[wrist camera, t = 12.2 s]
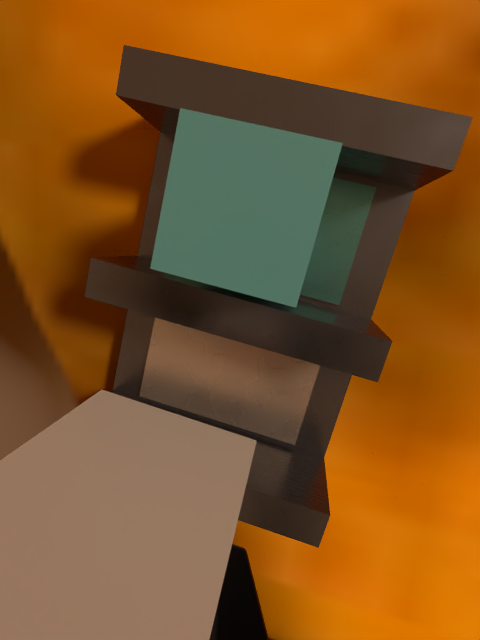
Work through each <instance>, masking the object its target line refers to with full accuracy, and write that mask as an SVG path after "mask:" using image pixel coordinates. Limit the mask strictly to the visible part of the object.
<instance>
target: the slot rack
mask: <svg viewBox="0 0 480 640" xmlns="http://www.w3.org/2000/svg"><path fill="white" fill-rule="evenodd" d="M116 96H118V97H119V98H120V99H121V100H123V101H124V102H125V103H126V104H127V105H129V106H130V107H131V108H132V109H133V110H135V111H136V112H137V113H138V114H140V115H141V116H142V117H143V118H144V119H146V120H147V121H148V122H149V123H150V124H152V125H153V126H154V127H155V128H157V129H158V130H159V131H160V137H159V142H158V148H157V153H156V159H155V164H154V169H153V175H152V180H151V186H150V191H149V197H148V202H147V207H146V213H145V218H144V224H143V229H142V234H141V240H140V245H139V251H138V256H118V257H96V258H90V265H89V271H88V278H87V284H86V290H85V297H86V298H89V299H93V300H96V301H100V302H103V303H107V304H110V305H113V306H117V307H120V308H124V309H127V316H126V321H125V327H124V332H123V337H122V343H121V348H120V354H119V359H118V365H117V370H116V375H115V381H114V386H113V391H111V393H114V394H117V395H120V396H123V397H126V398H129V399H132V400H135V401H138V402H141V403H144V404H147V405H150V406H153V407H156V408H159V409H162V410H165V411H168V412H172V413H175V414H178V415H181V416H184V417H187V418H190V419H193V420H196V421H199V422H202V423H205V424H208V425H211V426H214V427H217V428H220V429H223V430H226V431H229V432H232V433H235V434H238V435H241V436H244V437H247V438H250V439H253V440H256V441H257V442H256V446H255V450H254V454H253V459H252V463H251V467H250V471H249V475H248V480H247V484H246V488H245V492H244V496H243V501H242V505H241V509H240V513H239V517H238V520H240V521H243V522H245V523H248V524H251V525H254V526H257V527H260V528H263V529H266V530H269V531H272V532H275V533H277V534H280V535H283V536H286V537H289V538H292V539H295V540H298V541H301V542H304V543H307V544H309V545H312V546H315V547H318V548H319V545H320V542H321V539H322V536H323V534H324V531H325V528H326V525H327V522H328V520H329V517H330V510H329V500H328V491H327V481H326V472H325V462H324V456H325V453H326V450H327V447H328V444H329V441H330V438H331V435H332V432H333V429H334V426H335V423H336V420H337V417H338V414H339V411H340V408H341V406H342V403H343V400H344V397H345V394H346V391H347V388H348V385H349V382H350V379H351V376H352V375H355V376H358V377H362V378H365V379H369V380H372V381H376V382H378V380H379V377H380V374H381V371H382V369H383V366H384V363H385V360H386V357H387V355H388V352H389V349H390V346H391V343H392V340H391V339H390V338H389V337H388V336H387V335H386V334H385V333H384V332H383V331H382V330H381V329H380V328H379V327H378V326H377V325H376V324H375V323H374V322H373V321H372V320H371V317H372V314H373V311H374V308H375V305H376V302H377V299H378V296H379V294H380V291H381V288H382V285H383V282H384V279H385V276H386V273H387V270H388V267H389V264H390V261H391V258H392V255H393V252H394V249H395V246H396V243H397V240H398V237H399V235H400V232H401V229H402V226H403V223H404V220H405V217H406V214H407V211H408V208H409V205H410V202H411V199H412V196H413V193H414V191H415V190H417V189H419V188H420V187H422V186H424V185H426V184H428V183H430V182H432V181H434V180H436V179H438V178H440V177H442V176H444V175H446V174H448V173H450V172H452V171H453V170H454V167H455V165H456V162H457V159H458V156H459V153H460V151H461V148H462V145H463V142H464V139H465V137H466V134H467V131H468V128H469V125H470V123H471V120H472V117H468V116H464V115H459V114H454V113H449V112H444V111H439V110H435V109H430V108H425V107H420V106H415V105H411V104H406V103H401V102H396V101H391V100H386V99H382V98H377V97H372V96H367V95H362V94H358V93H353V92H348V91H343V90H338V89H333V88H329V87H324V86H319V85H314V84H309V83H304V82H300V81H295V80H290V79H285V78H280V77H276V76H271V75H266V74H261V73H256V72H251V71H247V70H242V69H237V68H232V67H227V66H222V65H218V64H213V63H208V62H203V61H198V60H194V59H189V58H184V57H179V56H174V55H169V54H165V53H160V52H155V51H150V50H145V49H141V48H136V47H131V46H126V45H124V47H123V54H122V60H121V66H120V73H119V79H118V86H117V92H116ZM180 108H182V109H187V110H192V111H196V112H201V113H206V114H210V115H215V116H220V117H224V118H229V119H233V120H238V121H243V122H247V123H252V124H257V125H261V126H266V127H270V128H275V129H280V130H284V131H289V132H294V133H298V134H303V135H308V136H312V137H317V138H321V139H326V140H331V141H335V142H340V143H343V144H342V148H341V151H340V155H339V158H338V162H337V165H336V169H335V172H334V176H333V179H332V183H331V186H330V190H329V193H328V197H327V201H326V204H325V208H324V211H323V215H322V218H321V222H320V225H319V229H318V232H317V236H316V239H315V243H314V246H313V250H312V253H311V257H310V261H309V264H308V268H307V271H306V275H305V278H304V282H303V285H302V289H301V292H300V296H299V299H298V303H297V306H296V308H295V307H291V306H288V305H284V304H280V303H276V302H273V301H269V300H265V299H262V298H258V297H254V296H250V295H247V294H243V293H239V292H235V291H232V290H228V289H224V288H221V287H217V286H213V285H209V284H206V283H202V282H198V281H195V280H191V279H187V278H183V277H180V276H176V275H172V274H168V273H165V272H161V271H157V270H154V269H150V267H151V262H152V256H153V251H154V246H155V240H156V235H157V230H158V224H159V219H160V214H161V208H162V203H163V198H164V192H165V187H166V182H167V176H168V171H169V166H170V160H171V155H172V150H173V144H174V139H175V134H176V128H177V123H178V118H179V112H180Z"/></svg>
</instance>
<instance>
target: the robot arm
mask: <svg viewBox="0 0 480 640" xmlns="http://www.w3.org/2000/svg"><path fill="white" fill-rule="evenodd" d="M209 640H269V638H268V634H267V630H266V626H265V622H264V618H263V614H262V610H261V606H260V602H259V599H258V595H257V591H256V587H255V583H254V579H253V575H252V571H251V567H250V563H249V559H248V555H247V552H246V550H245V549H244V548H242V547H239V546H236V545H233V544H232V547H231V551H230V555H229V559H228V563H227V568H226V572H225V576H224V580H223V584H222V589H221V593H220V597H219V601H218V605H217V610H216V614H215V618H214V622H213V626H212V631H211V635H210V639H209Z"/></svg>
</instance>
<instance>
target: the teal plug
mask: <svg viewBox="0 0 480 640" xmlns="http://www.w3.org/2000/svg"><path fill="white" fill-rule="evenodd" d="M342 144H343V143H340V142H335V141H331V140H326V139H321V138H317V137H312V136H308V135H303V134H298V133H294V132H289V131H284V130H280V129H275V128H270V127H266V126H261V125H257V124H252V123H247V122H243V121H238V120H233V119H229V118H224V117H220V116H215V115H210V114H206V113H201V112H196V111H192V110H187V109H182V108H180V112H179V118H178V123H177V128H176V134H175V139H174V144H173V150H172V155H171V160H170V166H169V171H168V176H167V182H166V187H165V192H164V198H163V203H162V208H161V214H160V219H159V224H158V230H157V235H156V240H155V246H154V251H153V256H152V262H151V267H150V269H154V270H157V271H161V272H165V273H168V274H172V275H176V276H180V277H183V278H187V279H191V280H195V281H198V282H202V283H206V284H209V285H213V286H217V287H221V288H224V289H228V290H232V291H235V292H239V293H243V294H247V295H250V296H254V297H258V298H262V299H265V300H269V301H273V302H276V303H280V304H284V305H288V306H291V307H295V308H296V306H297V303H298V299H299V296H300V292H301V289H302V285H303V282H304V278H305V275H306V271H307V268H308V264H309V261H310V257H311V253H312V250H313V246H314V243H315V239H316V236H317V232H318V229H319V225H320V222H321V218H322V215H323V211H324V208H325V204H326V201H327V197H328V193H329V190H330V186H331V183H332V179H333V176H334V172H335V169H336V165H337V162H338V158H339V155H340V151H341V148H342Z"/></svg>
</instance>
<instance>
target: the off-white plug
mask: <svg viewBox="0 0 480 640" xmlns="http://www.w3.org/2000/svg"><path fill="white" fill-rule="evenodd" d="M256 442H257V441H256V440H253V439H250V438H247V437H244V436H241V435H238V434H235V433H232V432H229V431H226V430H223V429H220V428H217V427H214V426H211V425H208V424H205V423H202V422H199V421H196V420H193V419H190V418H187V417H184V416H181V415H178V414H175V413H172V412H168V411H165V410H162V409H159V408H156V407H153V406H150V405H147V404H144V403H141V402H138V401H135V400H132V399H129V398H126V397H123V396H120V395H117V394H114V393H111V392H108V391H105V390H101V391H99V392H98V393H96V394H95V395H93V396H92V397H90V398H89V399H88V400H86V401H85V402H83V403H82V404H80V405H79V406H77V407H76V408H75V409H73V410H72V411H70V412H69V413H67V414H66V415H65V416H63V417H62V418H60V419H59V420H58V421H56V422H54V423H53V424H52V425H50V426H49V427H47V428H46V429H45V430H43V431H42V432H40V433H39V434H37V435H36V436H34V437H33V438H31V439H30V440H29V441H27V442H26V443H24V444H23V445H21V446H20V447H19V448H17V449H16V450H14V451H13V452H11V453H10V454H8V455H7V456H6V457H4V458H3V459H1V460H0V640H209V639H210V635H211V631H212V626H213V622H214V618H215V614H216V610H217V605H218V601H219V597H220V593H221V589H222V584H223V580H224V576H225V572H226V568H227V563H228V559H229V555H230V551H231V547H232V542H233V538H234V534H235V530H236V526H237V522H238V517H239V513H240V509H241V505H242V501H243V496H244V492H245V488H246V484H247V480H248V475H249V471H250V467H251V463H252V459H253V454H254V450H255V446H256Z"/></svg>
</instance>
